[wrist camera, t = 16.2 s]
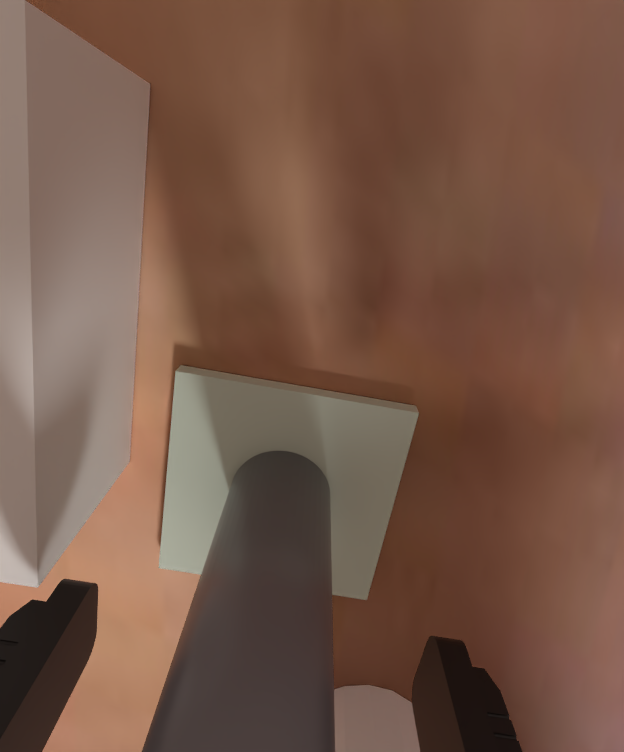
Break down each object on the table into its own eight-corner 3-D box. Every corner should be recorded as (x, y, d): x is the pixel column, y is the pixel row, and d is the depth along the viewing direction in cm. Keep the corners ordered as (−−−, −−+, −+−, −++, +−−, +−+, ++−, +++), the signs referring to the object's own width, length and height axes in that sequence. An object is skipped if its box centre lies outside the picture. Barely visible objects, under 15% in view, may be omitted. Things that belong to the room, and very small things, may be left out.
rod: (339, 460, 17) (397, 1476, 3) (320, 543, 18) (307, 1542, 4) (237, 442, 16) (-125, 1425, 3) (225, 528, 18) (-77, 1508, 4)
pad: (415, 405, 16) (419, 412, 16) (365, 588, 19) (366, 599, 19) (180, 365, 16) (175, 371, 16) (163, 557, 19) (158, 567, 18)
